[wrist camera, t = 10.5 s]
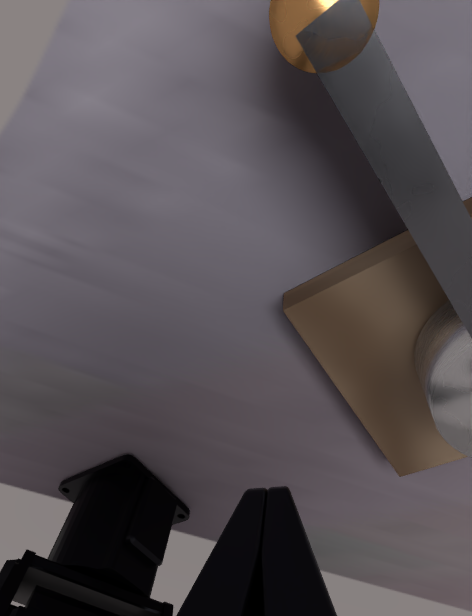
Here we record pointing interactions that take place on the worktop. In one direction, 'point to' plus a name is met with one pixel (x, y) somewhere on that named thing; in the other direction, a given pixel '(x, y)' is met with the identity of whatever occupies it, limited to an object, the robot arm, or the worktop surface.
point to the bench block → (378, 344)
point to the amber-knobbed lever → (397, 182)
